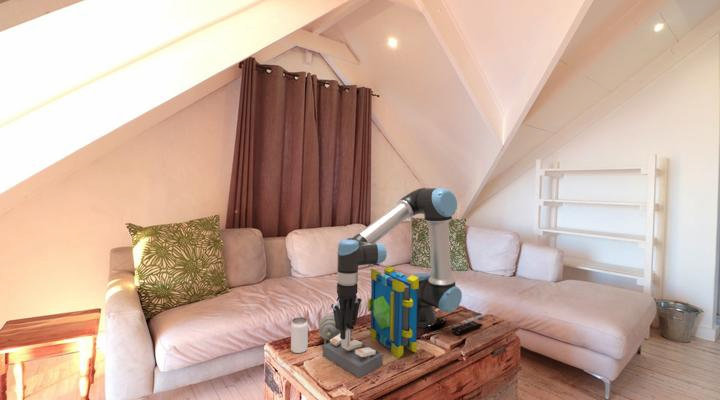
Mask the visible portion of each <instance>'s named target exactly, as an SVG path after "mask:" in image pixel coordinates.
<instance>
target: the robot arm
mask: <svg viewBox="0 0 720 400" xmlns="http://www.w3.org/2000/svg"><path fill="white" fill-rule="evenodd" d="M457 209H458V200H457V197H456V195H455V193H453V192H452V190H449V189H447V188H440V187H437V188H436V187H433V188H431V187H427V188H425V187H421V188H417V189H415V190H412V191H411V192H409V193H407V194H406V195H405V196H403V197H402V198H400V199H399V200H398V201H397V202H396V205H395V206H393V207H392V208H390V209H389V210H388V211H387V212H386V213H384V214H383V215H381V216H380V217H379V218H377V219H376V220H374V221H373V222H371V224H369V225H368V226H367V227H365V228H363V230H361V231H360V232H358V233H357V234H355V235H354V236H353V237H346V238H344V239H342V240H340V241H339V242H338V245H337V272H336V275H337V277H336V281H337V283H336V294H337V298H336V302H335V303H333V304H332V303H331V306H330V307H331V308H332V310H333V312H332V313H334V319H335V325H336V329H338V330H340V338H341V346H342V347H344V348H346V349H347V348H348V346H350V338H352V333H353V332H352V330H354V329H355V327H354V326H356V325H357V321H358V315H359V309H360V305H361V302H362V298H360V297H358V295H357V294H358V286H359V285H358V281H359V277H358V276H359V266H366V265H367V266H368V265H377V264H383V262H385V261H386V259H387V248H386V247H385V244H383V243H377V242H378V241H380V240H381V239H382V238H384V237H385V236H386V235H387V234H389V233H390V232H391V231H393V230H394V229H395V228H396V227H398V226H399V225H401V223H403V222H404V221H406V220H407V219H411V218H413V217H414V216H416V215H420V214H422V215H423V216H424V221H425V222H426V223H427V224H428V238H429V239H428V240H429V255H430V272H431V273H429V272H418V273H413V274H411V275H413V276H416V277H418V278H419V289H418V291H417V328H422V329H423V328H426V327H427V326H428V325H429V324H432V323H434V322H436V320H437V315H436V312H435V311H436V310H435V308H436V309H438V310H439V311H442V312H445V313H452V312H454V311H456V309H457V308H458V307H459V306H460V304H461V302H462V298H463V294H462V293H463V292H462V290H461V289H460V288H459V287H458V286H457V285H456V278H455V277H453V276H452V263H451V262H452V261H451V260H452V259H451V244H450V243H451V242H450V226H449V223H450V222H451V221H452V220H453V216H454V215H455V213H456V211H457Z"/></svg>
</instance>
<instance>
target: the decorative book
mask: <svg viewBox="0 0 720 400" xmlns="http://www.w3.org/2000/svg"><path fill="white" fill-rule="evenodd" d="M395 270H396V268H395V267H392V266H390V265H389V266H387V267H385V268H384V269H383V275H382V272H380V271H378V270H376V269H373V268H370V279H371V288H370V289H371V290H370V291H371V292H370V294H371V295H370V296H371V297H369V298H368V300H367V301H368V302H367V311H368V312H370V338H371V340H373V339H374V340H375V341H374V340H373V341H374V342H377V341H379V342H380V343H381V344H382V345H383V346H384V347H386V348H387V349H389V350H390V351H391V352H390V354H391V355H392V356H393V357H394V358H396V359H397V360H399V359H400V358H401V357H402V356H403V355H404V347H405V348H406V349H408V350H409V351H411V352H413V353H418V342H417V340H418V339H417V336H418V334H417V333H418V332H417V330H418V327H417V291H418V289H419V278H418V277H416V276H413V275H412V274H411V275H410V276H407V274H405V273H402V272H398V271H395Z"/></svg>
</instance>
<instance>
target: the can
mask: <svg viewBox="0 0 720 400" xmlns="http://www.w3.org/2000/svg"><path fill="white" fill-rule="evenodd" d="M291 321H292V322H291V323H290V350H291V352H292V353H294V354H303V353H306V352H307V351H308V344H309V343H308V342H309V340H308V334H309V333H308V332H309V331H308V330H309V329H308V321H307V318H306V317H303V316H300V317H299V316H297V317H294V318H293V319H292V320H291Z"/></svg>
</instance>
